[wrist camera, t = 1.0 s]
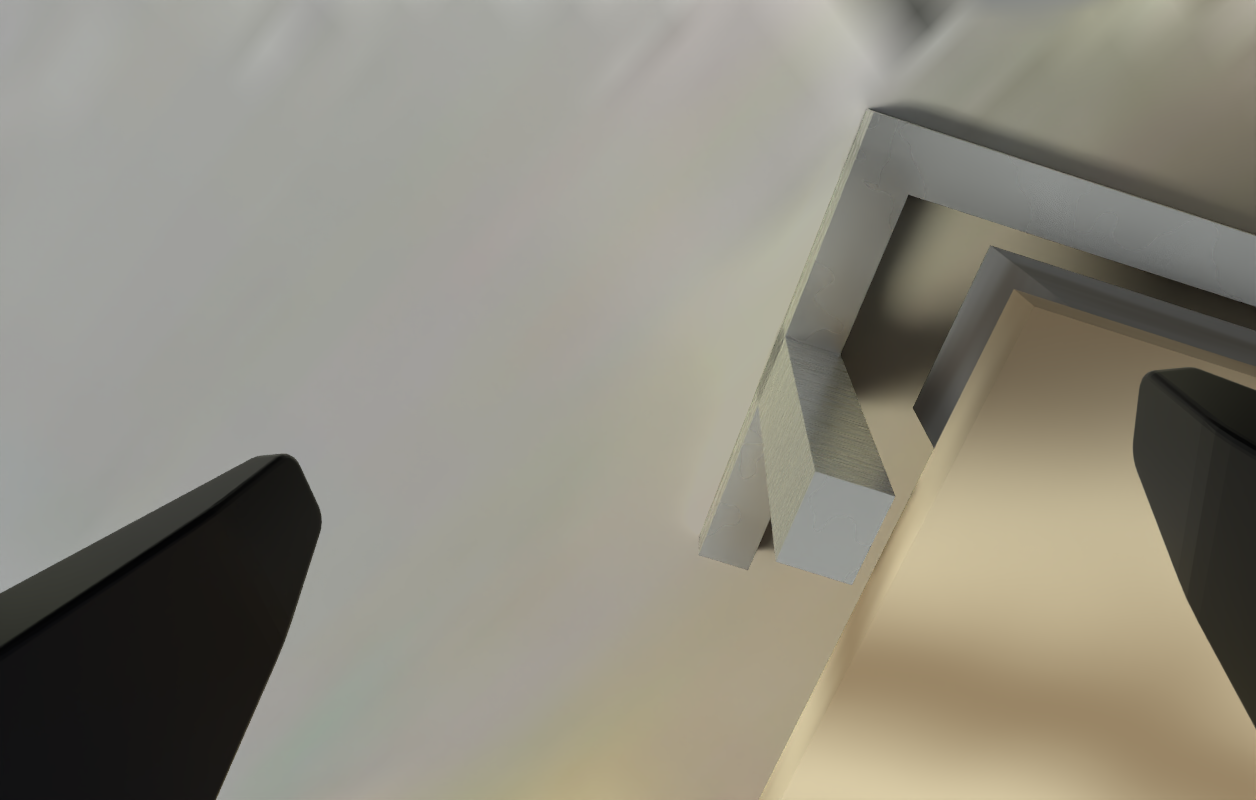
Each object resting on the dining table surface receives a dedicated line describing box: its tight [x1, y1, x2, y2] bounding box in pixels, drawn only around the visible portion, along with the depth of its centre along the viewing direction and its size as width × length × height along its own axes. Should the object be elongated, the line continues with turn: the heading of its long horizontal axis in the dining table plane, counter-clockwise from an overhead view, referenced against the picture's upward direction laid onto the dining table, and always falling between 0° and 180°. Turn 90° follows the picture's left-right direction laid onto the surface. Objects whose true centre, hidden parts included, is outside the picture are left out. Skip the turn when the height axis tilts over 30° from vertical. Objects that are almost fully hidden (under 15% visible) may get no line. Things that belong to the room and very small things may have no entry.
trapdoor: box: [759, 246, 1256, 800], centre depth 19 cm, size 16×14×6 cm
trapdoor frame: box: [699, 109, 1256, 585], centre depth 20 cm, size 13×18×8 cm
